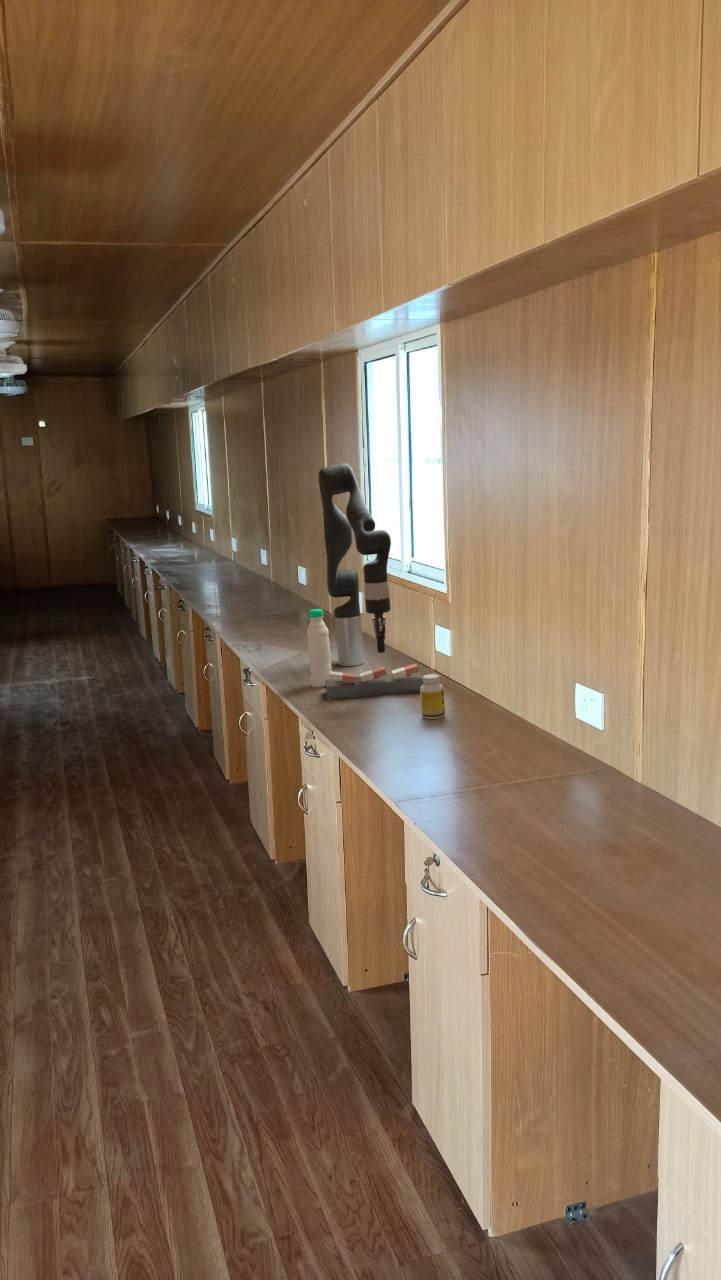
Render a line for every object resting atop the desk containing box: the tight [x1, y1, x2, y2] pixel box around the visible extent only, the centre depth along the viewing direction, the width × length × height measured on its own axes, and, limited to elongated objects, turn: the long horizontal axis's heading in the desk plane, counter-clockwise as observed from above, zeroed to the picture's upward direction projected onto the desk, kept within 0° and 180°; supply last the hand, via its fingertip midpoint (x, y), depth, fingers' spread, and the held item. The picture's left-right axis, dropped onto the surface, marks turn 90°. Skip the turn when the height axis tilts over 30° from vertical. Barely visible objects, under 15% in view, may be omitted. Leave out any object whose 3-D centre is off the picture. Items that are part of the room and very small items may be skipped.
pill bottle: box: [419, 673, 446, 720], centre depth 274 cm, size 6×6×12 cm
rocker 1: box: [329, 670, 356, 683], centre depth 304 cm, size 4×8×2 cm, turn 94°
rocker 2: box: [359, 665, 388, 682], centre depth 304 cm, size 4×8×2 cm, turn 94°
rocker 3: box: [391, 663, 420, 679], centre depth 305 cm, size 4×8×2 cm, turn 94°
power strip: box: [325, 670, 424, 701], centre depth 307 cm, size 10×30×4 cm, turn 94°
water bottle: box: [306, 608, 333, 688], centre depth 318 cm, size 7×7×25 cm
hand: (381, 652), depth 303 cm, fingers closed
